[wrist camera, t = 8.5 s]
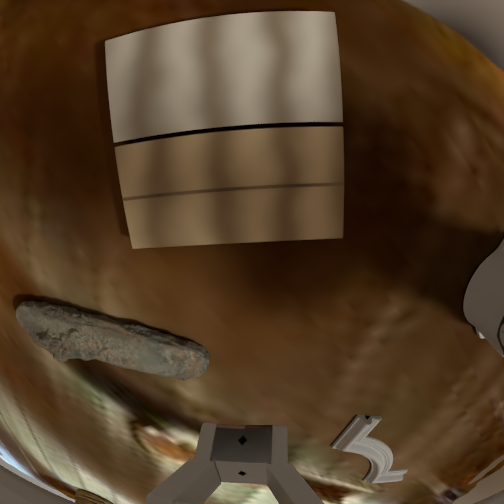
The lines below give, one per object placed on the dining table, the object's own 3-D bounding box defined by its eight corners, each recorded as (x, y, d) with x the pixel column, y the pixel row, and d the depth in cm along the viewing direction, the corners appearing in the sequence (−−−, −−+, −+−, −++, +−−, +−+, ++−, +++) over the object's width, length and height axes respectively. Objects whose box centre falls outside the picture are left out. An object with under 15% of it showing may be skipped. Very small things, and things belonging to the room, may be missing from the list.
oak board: (337, 126, 31) (343, 126, 29) (338, 230, 36) (343, 238, 34) (123, 144, 33) (114, 147, 30) (140, 240, 38) (132, 249, 35)
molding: (408, 470, 64) (410, 478, 61) (369, 485, 67) (370, 493, 64) (376, 404, 50) (379, 416, 47) (316, 427, 53) (318, 439, 50)
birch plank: (329, 18, 26) (334, 12, 24) (337, 121, 31) (343, 122, 29) (114, 44, 27) (104, 41, 25) (123, 140, 33) (113, 142, 30)
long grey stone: (208, 373, 49) (214, 325, 45) (205, 396, 44) (210, 347, 40) (28, 333, 46) (17, 286, 43) (15, 349, 41) (1, 301, 38)
